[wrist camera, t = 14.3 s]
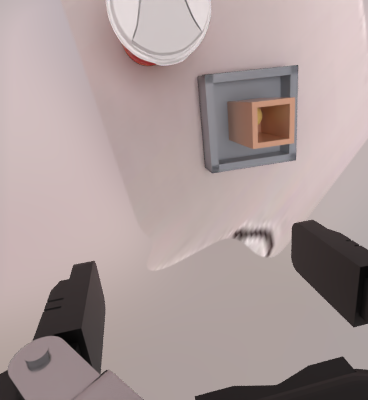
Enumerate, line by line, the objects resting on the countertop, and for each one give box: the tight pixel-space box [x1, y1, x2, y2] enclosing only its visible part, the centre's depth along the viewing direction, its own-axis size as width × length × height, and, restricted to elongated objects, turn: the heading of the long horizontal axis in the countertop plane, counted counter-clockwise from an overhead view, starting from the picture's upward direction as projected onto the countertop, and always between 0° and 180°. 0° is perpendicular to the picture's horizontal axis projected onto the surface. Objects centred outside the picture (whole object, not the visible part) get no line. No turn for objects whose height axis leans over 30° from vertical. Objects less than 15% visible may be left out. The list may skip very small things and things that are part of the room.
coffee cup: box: [106, 0, 211, 66], centre depth 29 cm, size 8×8×15 cm
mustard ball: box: [257, 108, 262, 125], centre depth 38 cm, size 3×3×3 cm
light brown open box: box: [227, 97, 295, 149], centre depth 37 cm, size 5×5×8 cm
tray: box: [198, 65, 298, 173], centre depth 40 cm, size 12×12×4 cm
